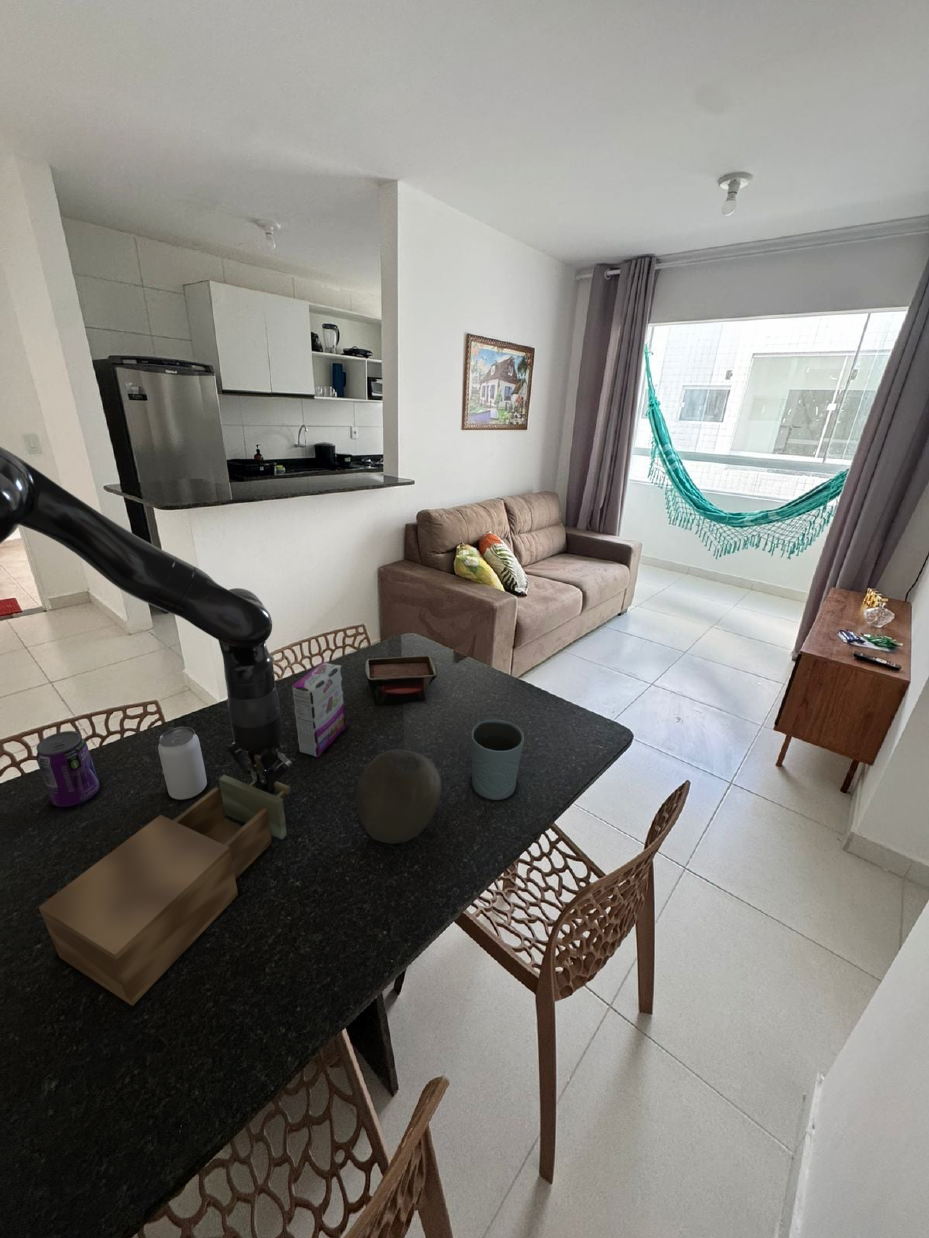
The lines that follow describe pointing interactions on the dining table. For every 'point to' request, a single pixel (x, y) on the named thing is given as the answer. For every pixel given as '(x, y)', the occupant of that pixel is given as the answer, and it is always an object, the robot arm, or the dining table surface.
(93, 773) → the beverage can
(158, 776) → the dining table surface
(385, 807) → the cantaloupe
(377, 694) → the baking dish
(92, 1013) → the dining table surface
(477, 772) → the teal cup
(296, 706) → the candy bar box
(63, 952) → the cabinet
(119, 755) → the dining table surface
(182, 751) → the can
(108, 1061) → the dining table surface
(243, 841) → the drawer
